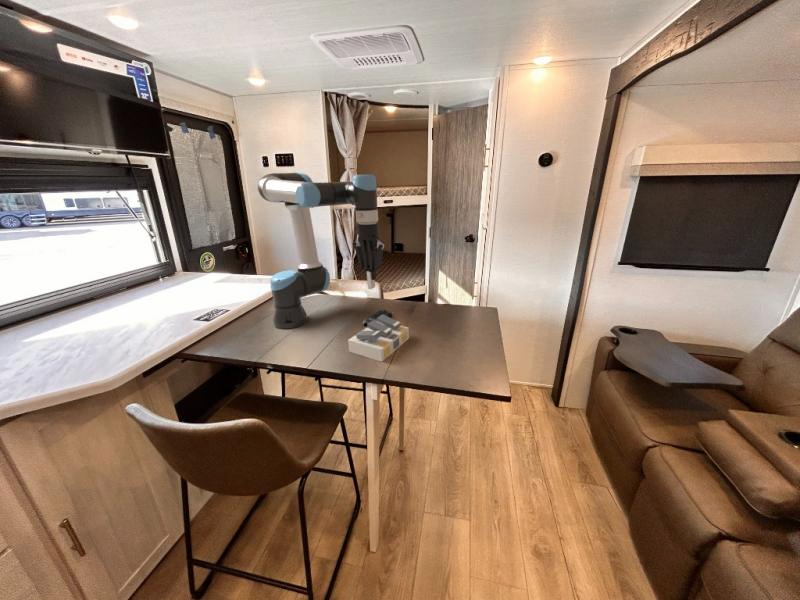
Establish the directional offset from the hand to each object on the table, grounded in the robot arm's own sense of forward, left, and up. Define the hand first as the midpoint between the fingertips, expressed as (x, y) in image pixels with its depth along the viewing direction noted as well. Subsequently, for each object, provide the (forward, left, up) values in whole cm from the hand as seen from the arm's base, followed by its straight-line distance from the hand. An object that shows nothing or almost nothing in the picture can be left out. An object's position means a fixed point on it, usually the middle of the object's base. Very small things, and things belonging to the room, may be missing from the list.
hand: (371, 287), depth 115 cm
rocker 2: (+2, +1, -17) cm, 17 cm away
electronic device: (-11, +18, -24) cm, 32 cm away
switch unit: (+2, +1, -24) cm, 24 cm away
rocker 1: (+2, -6, -17) cm, 18 cm away
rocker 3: (+2, +7, -17) cm, 19 cm away
